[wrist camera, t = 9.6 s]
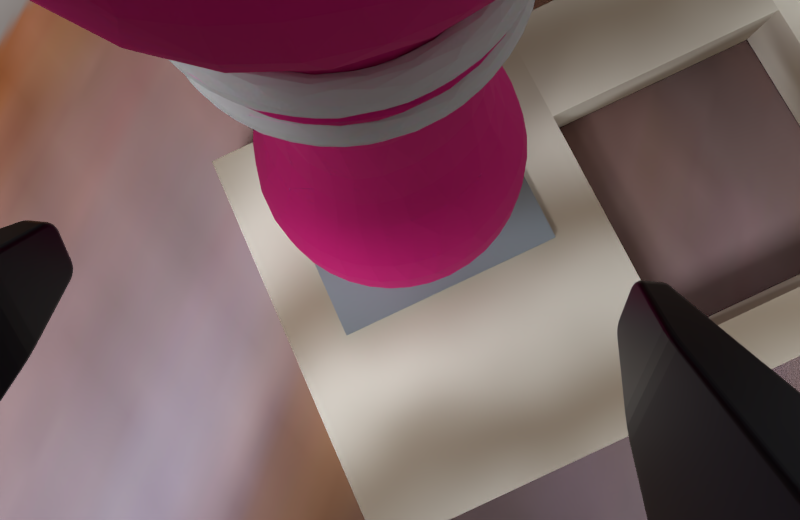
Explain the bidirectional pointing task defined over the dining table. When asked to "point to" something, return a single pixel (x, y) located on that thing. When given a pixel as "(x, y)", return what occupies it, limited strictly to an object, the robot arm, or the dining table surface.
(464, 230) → the pepper mill
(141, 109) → the dining table surface
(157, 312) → the dining table surface
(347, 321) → the puzzle board
